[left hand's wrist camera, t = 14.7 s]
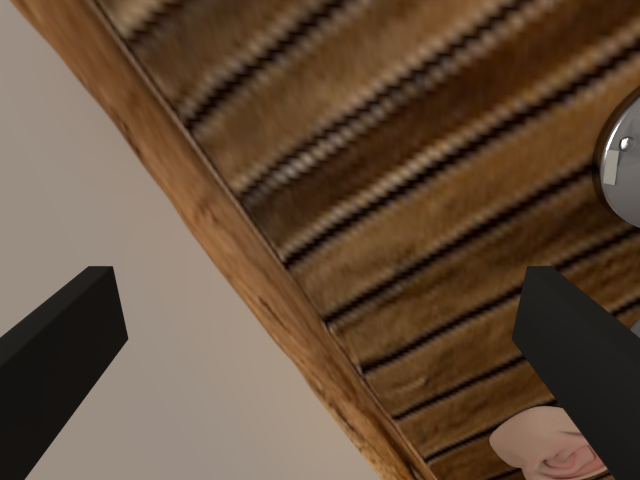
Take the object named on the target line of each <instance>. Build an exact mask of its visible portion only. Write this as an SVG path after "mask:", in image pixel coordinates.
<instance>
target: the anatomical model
mask: <svg viewBox="0 0 640 480" xmlns="http://www.w3.org/2000/svg"><path fill="white" fill-rule="evenodd" d="M489 442H490V445H491V446H492V448H493V449H494V451H495V452H496V453H497V454H498V456H499V457H500V458H501V459H502V460H504V461H505V462H506V463H507V464H509V465H511V466H513V467H517V468H522V471H523V474H524V477H525V478H526V479H527V480H581V479H585V478H588V477H591V476H593V475H596V474H598V473H601V472H603V471H605V470H607V468H606V466H605V465H604V463H603V462H602V461H601V459H600V458H599V457H598V455H597V454H596V453H595V451H594V450H593V449H592V447H591V446H590V445H589V443H588V442H587V440H586V439H585V438H584V436H583V435H582V434H581V432H580V431H579V430H578V428H577V427H576V426H575V424H574V423H573V421H572V420H571V419H570V417H569V416H568V415H567V413H566V412H565V411H564V409H563V408H559V407H551V406H539V407H533V408H530V409H527V410H525V411H523V412H521V413H518V414H517V415H515V416H513V417H512V418H510V419H509V420H507V421H506V422H505V423H503V424H502V425H501V426H499V427H498V428H497V429H496V430H495V431H494V432H493V433H492V434H491V436H490V439H489Z"/></svg>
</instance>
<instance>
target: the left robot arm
mask: <svg viewBox="0 0 640 480" xmlns="http://www.w3.org/2000/svg"><path fill="white" fill-rule="evenodd" d="M592 180H593V185H594V189H595V192H596V194H597V196H598V198H599V200H600V202H601V203H602V204H603V206H604V207H605V208H606V209H607V210H608V211H609V212H610V213H612V214H613V215H614V216H616V217H618V218H619V219H622V220H624V221H626V222H628V223H630V224H632V225H635V226H637V227H640V86H639V87H637V88H636V89H635V90H634V91H633V92H631V93H630V94H629V95H628V96H627V97H626V98H625V99H624V100H623V101H622V102H621V103H620V104H619V105H618V106H617V108H616V109H615V110H614V112H613V113H612V114H611V116H610V117H609V119H608V120H607V122H606V123H605V125H604V127H603V129H602V131H601V133H600V135H599V137H598V140H597V143H596V146H595V149H594V153H593V159H592ZM127 340H128V335H127V330H126V326H125V321H124V316H123V312H122V307H121V302H120V298H119V293H118V288H117V284H116V279H115V274H114V270H113V266H88V267H87V268H86V269H85V270H83V271H82V272H81V273H80V274H78V275H77V276H76V277H75V278H73V279H72V280H71V281H70V282H69V283H67V284H66V285H65V286H64V287H62V288H61V289H60V290H59V291H57V292H56V293H55V294H54V295H52V296H51V297H50V298H49V299H48V300H46V301H45V302H44V303H43V304H41V305H40V306H39V307H38V308H36V309H35V310H34V311H33V312H31V313H30V314H29V315H28V316H26V317H25V318H24V319H23V320H22V321H20V322H19V323H18V324H17V325H15V326H14V327H13V328H12V329H10V330H9V331H8V332H7V333H5V334H4V335H3V336H2V337H0V480H25V478H26V477H27V476H28V474H29V473H30V472H31V470H32V469H33V468H34V466H35V465H36V463H37V462H38V461H39V459H40V458H41V457H42V455H43V454H44V453H45V451H46V450H47V449H48V447H49V446H50V444H51V443H52V442H53V440H54V439H55V438H56V436H57V435H58V434H59V432H60V431H61V430H62V428H63V427H64V426H65V424H66V423H67V421H68V420H69V419H70V417H71V416H72V415H73V413H74V412H75V411H76V409H77V408H78V407H79V405H80V404H81V402H82V401H83V400H84V398H85V397H86V396H87V394H88V393H89V392H90V390H91V389H92V388H93V386H94V385H95V384H96V382H97V381H98V379H99V378H100V377H101V375H102V374H103V373H104V371H105V370H106V369H107V367H108V366H109V365H110V363H111V362H112V361H113V359H114V358H115V356H116V355H117V354H118V352H119V351H120V350H121V348H122V347H123V346H124V344H125V343H126V342H127ZM512 340H513V342H514V343H515V344H516V346H517V347H518V348H519V350H520V351H521V352H522V354H523V355H524V356H525V358H526V359H527V361H528V362H529V363H530V365H531V366H532V367H533V369H534V370H535V371H536V373H537V374H538V375H539V377H540V378H541V379H542V381H543V382H544V384H545V385H546V386H547V388H548V389H549V390H550V392H551V393H552V394H553V396H554V397H555V398H556V400H557V401H558V403H559V404H560V405H561V407H562V408H563V409H564V411H565V412H566V413H567V415H568V416H569V417H570V419H571V420H572V421H573V423H574V424H575V426H576V427H577V428H578V430H579V431H580V432H581V434H582V435H583V436H584V438H585V439H586V440H587V442H588V443H589V445H590V446H591V447H592V449H593V450H594V451H595V453H596V454H597V455H598V457H599V458H600V459H601V461H602V462H603V463H604V465H605V466H606V468H607V469H608V470H609V472H610V473H611V474H612V476H613V477H614V478H615V480H640V317H639V318H638V320H637V321H636V322H635V323H634V324H633V326H632V327H628V328H627V327H626V326H625V325H623V324H622V323H621V322H620V321H618V320H617V319H616V318H615V317H614V316H612V315H611V314H610V313H609V312H607V311H606V310H605V309H604V308H602V307H601V306H600V305H599V304H597V303H596V302H595V301H594V300H592V299H591V298H590V297H589V296H588V295H586V294H585V293H584V292H583V291H581V290H580V289H579V288H578V287H576V286H575V285H574V284H573V283H571V282H570V281H569V280H568V279H567V278H565V277H564V276H563V275H562V274H560V273H559V272H558V271H557V270H555V269H554V268H553V267H552V266H527V270H526V274H525V279H524V284H523V288H522V293H521V298H520V302H519V307H518V312H517V316H516V321H515V326H514V330H513V335H512Z"/></svg>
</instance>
